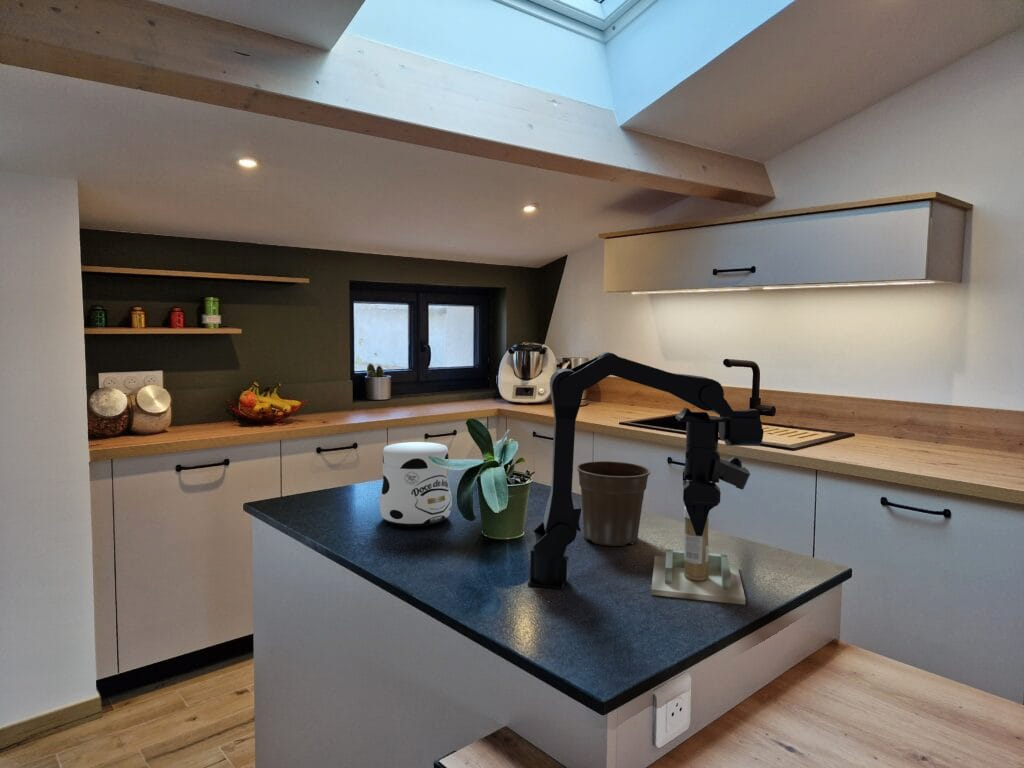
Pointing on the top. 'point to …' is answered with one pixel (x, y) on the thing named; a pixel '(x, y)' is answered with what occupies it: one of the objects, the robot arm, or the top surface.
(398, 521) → the doce de leite jar
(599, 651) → the top surface
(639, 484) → the plant pot
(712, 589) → the u rest
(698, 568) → the sprinkles bottle
